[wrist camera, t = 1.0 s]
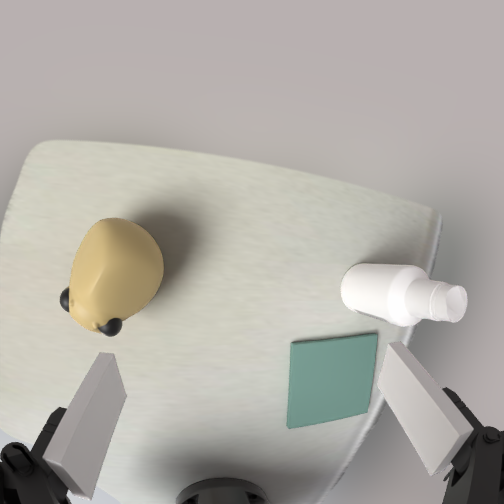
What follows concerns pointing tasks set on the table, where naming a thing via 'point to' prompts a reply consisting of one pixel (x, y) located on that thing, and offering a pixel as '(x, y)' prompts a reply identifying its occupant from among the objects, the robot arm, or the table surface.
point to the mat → (330, 379)
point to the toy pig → (112, 275)
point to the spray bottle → (401, 294)
